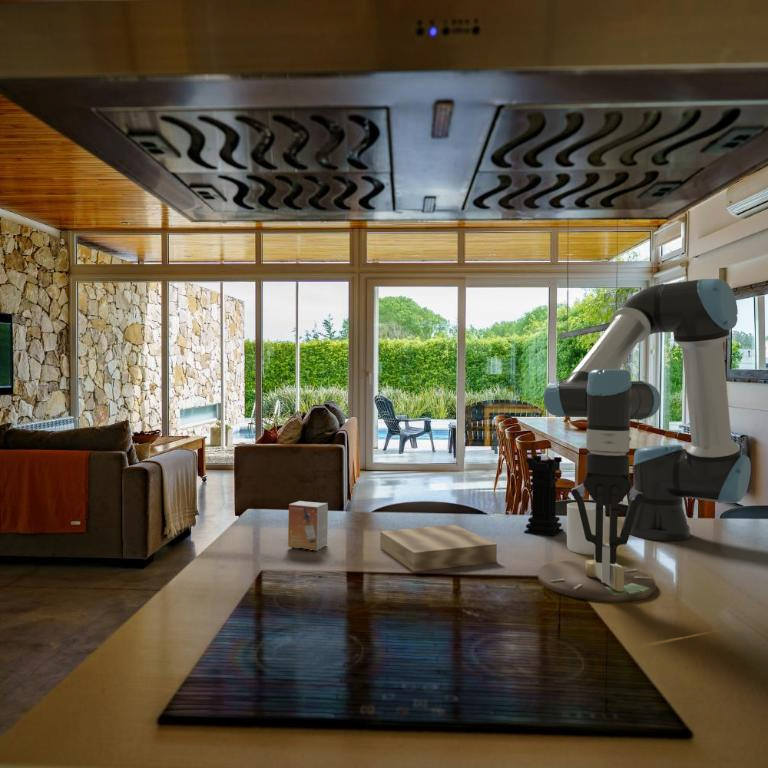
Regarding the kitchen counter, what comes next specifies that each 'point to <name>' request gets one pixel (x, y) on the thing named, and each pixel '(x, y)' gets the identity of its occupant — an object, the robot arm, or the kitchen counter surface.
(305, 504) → the small box
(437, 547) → the block
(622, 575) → the white bar with ball
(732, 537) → the kitchen counter surface
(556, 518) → the chess piece
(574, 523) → the mug
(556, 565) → the dial
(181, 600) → the kitchen counter surface
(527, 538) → the kitchen counter surface
